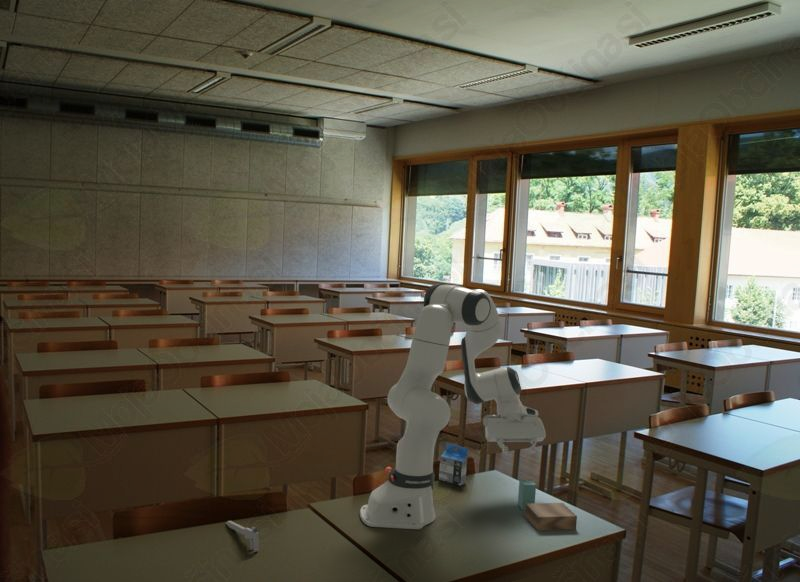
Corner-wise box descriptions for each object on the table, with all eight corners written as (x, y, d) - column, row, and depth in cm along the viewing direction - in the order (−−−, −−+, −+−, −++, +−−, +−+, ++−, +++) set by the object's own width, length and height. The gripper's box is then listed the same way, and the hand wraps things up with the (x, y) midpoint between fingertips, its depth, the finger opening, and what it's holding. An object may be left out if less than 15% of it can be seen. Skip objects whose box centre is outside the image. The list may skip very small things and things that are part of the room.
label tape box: (438, 480, 234) (440, 445, 233) (444, 477, 237) (446, 442, 236) (460, 486, 229) (462, 450, 228) (466, 483, 232) (468, 448, 231)
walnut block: (537, 530, 197) (538, 517, 196) (525, 516, 207) (525, 503, 206) (576, 529, 199) (576, 516, 199) (561, 515, 209) (562, 502, 209)
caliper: (258, 553, 174) (259, 529, 174) (254, 554, 174) (255, 530, 173) (228, 523, 191) (229, 502, 190) (225, 524, 190) (225, 502, 190)
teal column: (522, 509, 212) (523, 484, 211) (517, 504, 216) (519, 480, 215) (534, 509, 212) (536, 484, 212) (529, 504, 216) (531, 480, 216)
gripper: (484, 410, 226) (491, 448, 217) (542, 410, 229) (551, 447, 221) (479, 419, 230) (486, 457, 221) (536, 419, 234) (545, 456, 225)
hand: (519, 452), depth 221 cm, fingers open, 8 cm apart
